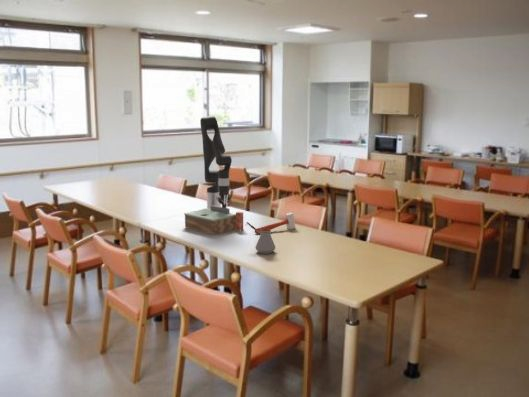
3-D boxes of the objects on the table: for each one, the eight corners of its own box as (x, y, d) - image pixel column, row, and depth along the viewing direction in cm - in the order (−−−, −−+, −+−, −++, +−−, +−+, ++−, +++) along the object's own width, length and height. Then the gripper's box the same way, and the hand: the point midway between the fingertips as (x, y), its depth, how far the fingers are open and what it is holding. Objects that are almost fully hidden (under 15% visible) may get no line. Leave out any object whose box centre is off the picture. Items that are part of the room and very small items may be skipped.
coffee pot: (279, 252, 302) (279, 226, 299) (265, 256, 294) (265, 230, 291) (253, 244, 316) (253, 220, 313) (239, 248, 308) (239, 223, 305)
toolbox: (206, 222, 370) (206, 209, 368) (236, 229, 352) (236, 215, 350) (185, 227, 355) (184, 214, 353) (214, 235, 337) (214, 221, 335)
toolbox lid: (207, 209, 368) (207, 204, 367) (236, 215, 350) (236, 209, 350) (184, 214, 352) (184, 208, 352) (213, 221, 335) (213, 215, 334)
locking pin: (239, 229, 352) (239, 211, 350) (243, 229, 350) (243, 212, 348) (236, 230, 350) (235, 212, 347) (239, 230, 347) (239, 213, 345)
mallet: (256, 225, 337) (294, 213, 352) (253, 224, 340) (290, 212, 355) (258, 241, 340) (295, 228, 355) (255, 239, 342) (292, 226, 357)
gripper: (226, 182, 365) (226, 207, 368) (213, 185, 355) (213, 210, 358) (234, 183, 360) (234, 208, 363) (221, 186, 350) (221, 211, 353)
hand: (224, 209), depth 361 cm, fingers closed
